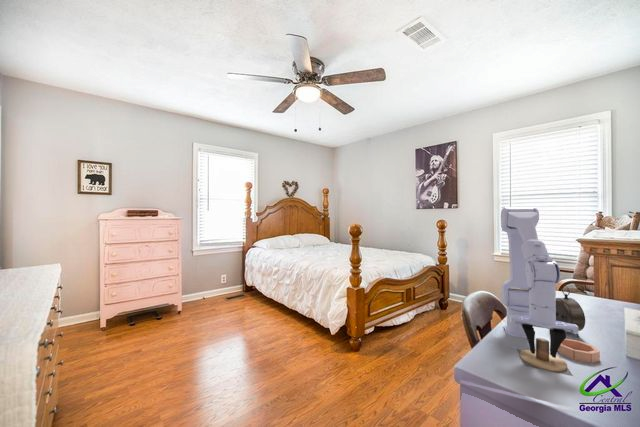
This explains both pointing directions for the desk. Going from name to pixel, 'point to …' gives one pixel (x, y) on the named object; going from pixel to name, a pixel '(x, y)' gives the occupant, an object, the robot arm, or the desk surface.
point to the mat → (543, 369)
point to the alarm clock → (569, 311)
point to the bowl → (579, 351)
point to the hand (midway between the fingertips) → (542, 354)
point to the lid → (543, 357)
